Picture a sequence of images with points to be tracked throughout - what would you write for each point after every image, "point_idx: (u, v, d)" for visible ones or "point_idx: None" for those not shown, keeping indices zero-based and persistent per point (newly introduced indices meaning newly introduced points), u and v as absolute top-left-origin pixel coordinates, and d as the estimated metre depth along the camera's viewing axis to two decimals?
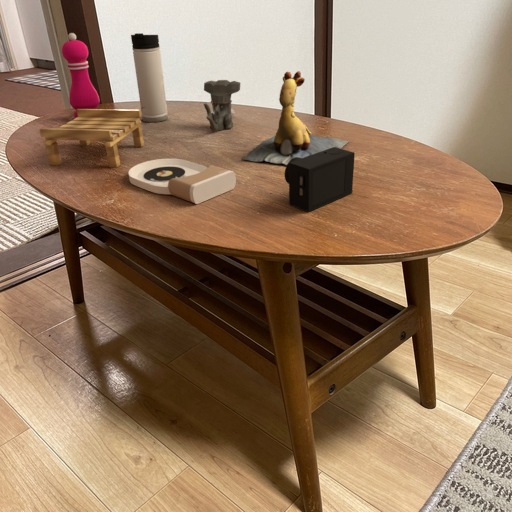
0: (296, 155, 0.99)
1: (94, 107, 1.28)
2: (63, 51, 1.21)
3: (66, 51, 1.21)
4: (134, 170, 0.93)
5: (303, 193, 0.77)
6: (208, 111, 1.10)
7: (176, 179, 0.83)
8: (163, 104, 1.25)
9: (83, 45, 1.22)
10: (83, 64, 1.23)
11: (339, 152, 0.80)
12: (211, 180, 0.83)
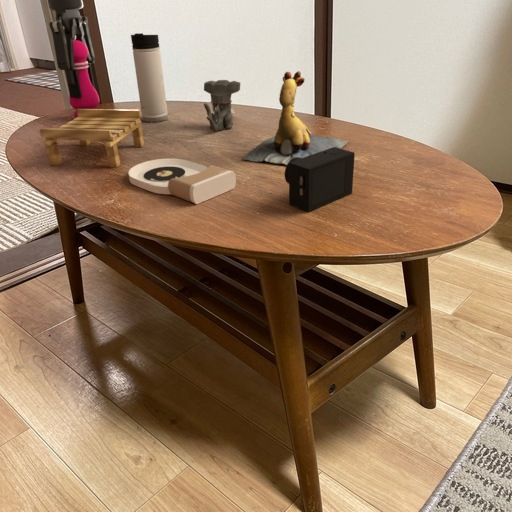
0: (296, 155, 0.99)
1: (94, 107, 1.28)
2: None
3: None
4: (134, 170, 0.93)
5: (303, 193, 0.77)
6: (208, 111, 1.10)
7: (176, 179, 0.83)
8: (163, 104, 1.25)
9: (83, 45, 1.22)
10: (83, 64, 1.23)
11: (339, 152, 0.80)
12: (211, 180, 0.83)
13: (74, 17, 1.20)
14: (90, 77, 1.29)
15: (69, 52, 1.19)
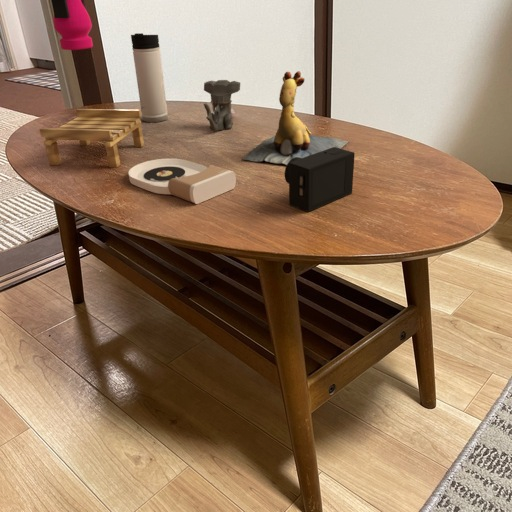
0: (296, 155, 0.99)
1: (85, 32, 1.03)
2: None
3: None
4: (134, 170, 0.93)
5: (303, 193, 0.77)
6: (208, 111, 1.10)
7: (176, 179, 0.83)
8: (163, 104, 1.25)
9: None
10: None
11: (339, 152, 0.80)
12: (211, 180, 0.83)
13: None
14: None
15: None
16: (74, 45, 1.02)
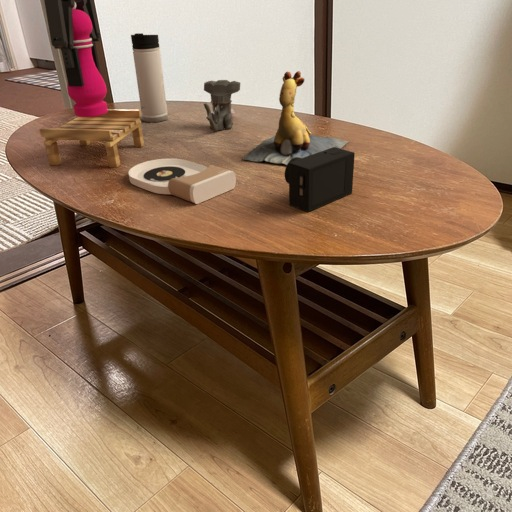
0: (296, 155, 0.99)
1: (100, 99, 0.98)
2: None
3: None
4: (134, 170, 0.93)
5: (303, 193, 0.77)
6: (208, 111, 1.10)
7: (176, 179, 0.83)
8: (163, 104, 1.25)
9: (85, 16, 0.92)
10: (86, 42, 0.93)
11: (339, 152, 0.80)
12: (211, 180, 0.83)
13: None
14: (94, 60, 0.99)
15: (67, 24, 0.89)
16: (88, 112, 0.98)
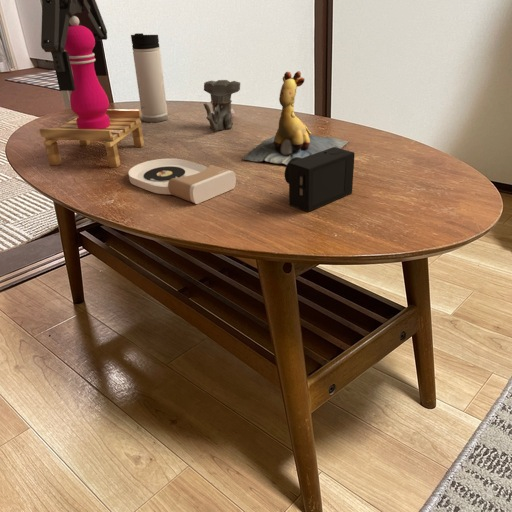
0: (296, 155, 0.99)
1: (102, 113, 1.00)
2: None
3: (66, 40, 0.92)
4: (134, 170, 0.93)
5: (303, 193, 0.77)
6: (208, 111, 1.10)
7: (176, 179, 0.83)
8: (163, 104, 1.25)
9: (88, 32, 0.93)
10: (89, 57, 0.95)
11: (339, 152, 0.80)
12: (211, 180, 0.83)
13: None
14: (101, 57, 1.02)
15: (61, 29, 0.88)
16: (91, 126, 0.99)
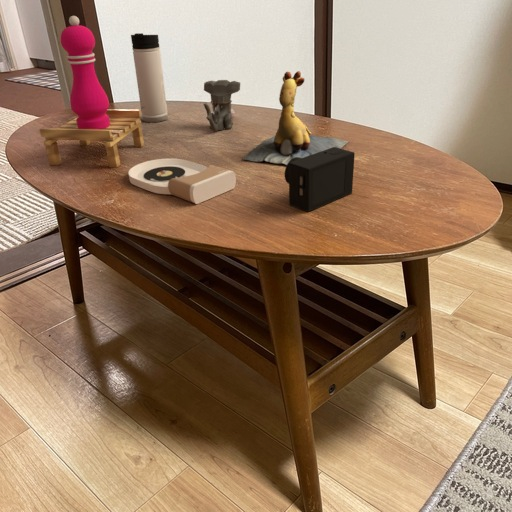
0: (296, 155, 0.99)
1: (102, 113, 1.00)
2: (62, 40, 0.93)
3: (66, 40, 0.92)
4: (134, 170, 0.93)
5: (303, 193, 0.77)
6: (208, 111, 1.10)
7: (176, 179, 0.83)
8: (163, 104, 1.25)
9: (88, 32, 0.93)
10: (89, 57, 0.95)
11: (339, 152, 0.80)
12: (211, 180, 0.83)
13: None
14: None
15: None
16: (91, 126, 0.99)
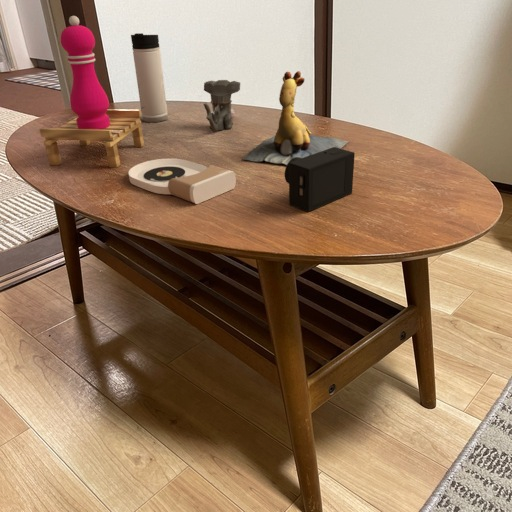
0: (296, 155, 0.99)
1: (102, 113, 1.00)
2: (62, 40, 0.93)
3: (66, 40, 0.92)
4: (134, 170, 0.93)
5: (303, 193, 0.77)
6: (208, 111, 1.10)
7: (176, 179, 0.83)
8: (163, 104, 1.25)
9: (88, 32, 0.93)
10: (89, 57, 0.95)
11: (339, 152, 0.80)
12: (211, 180, 0.83)
13: None
14: None
15: None
16: (91, 126, 0.99)
